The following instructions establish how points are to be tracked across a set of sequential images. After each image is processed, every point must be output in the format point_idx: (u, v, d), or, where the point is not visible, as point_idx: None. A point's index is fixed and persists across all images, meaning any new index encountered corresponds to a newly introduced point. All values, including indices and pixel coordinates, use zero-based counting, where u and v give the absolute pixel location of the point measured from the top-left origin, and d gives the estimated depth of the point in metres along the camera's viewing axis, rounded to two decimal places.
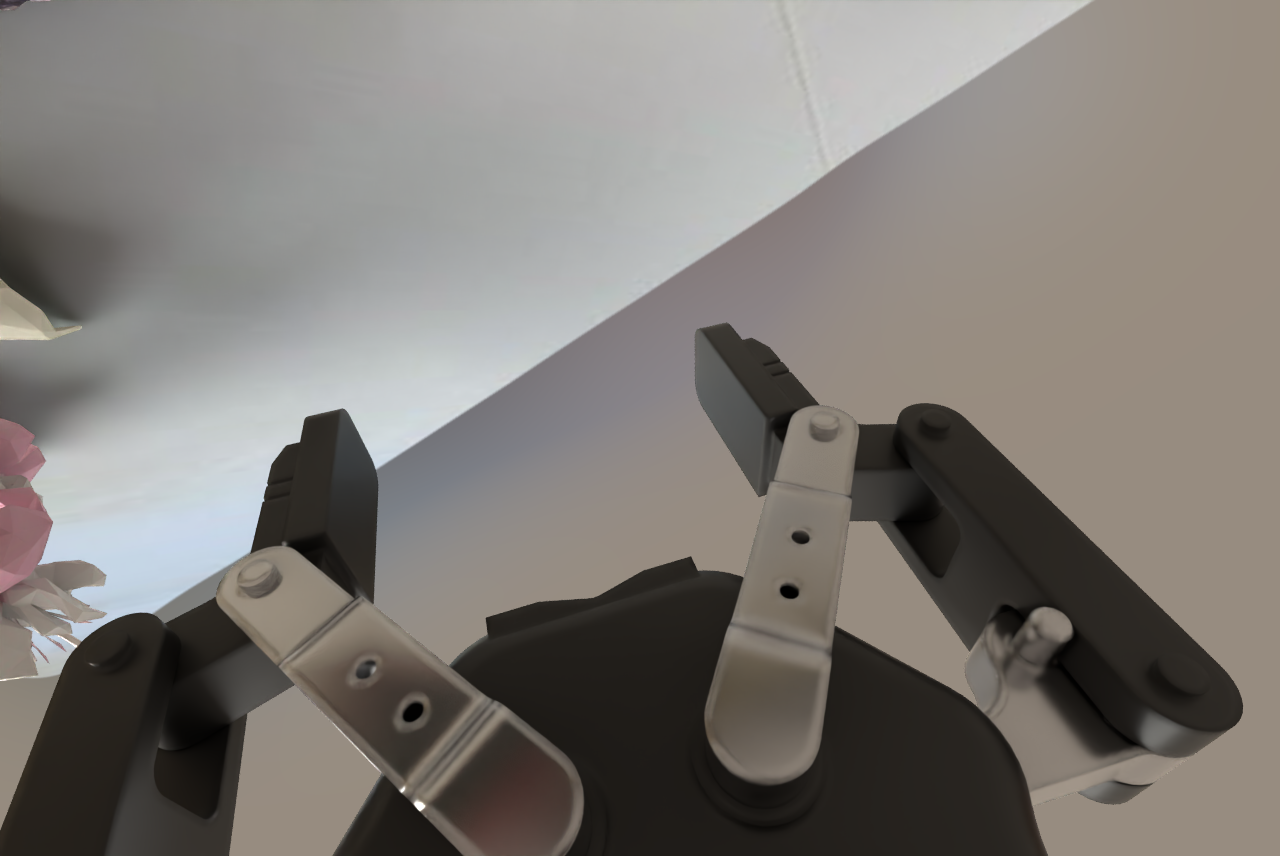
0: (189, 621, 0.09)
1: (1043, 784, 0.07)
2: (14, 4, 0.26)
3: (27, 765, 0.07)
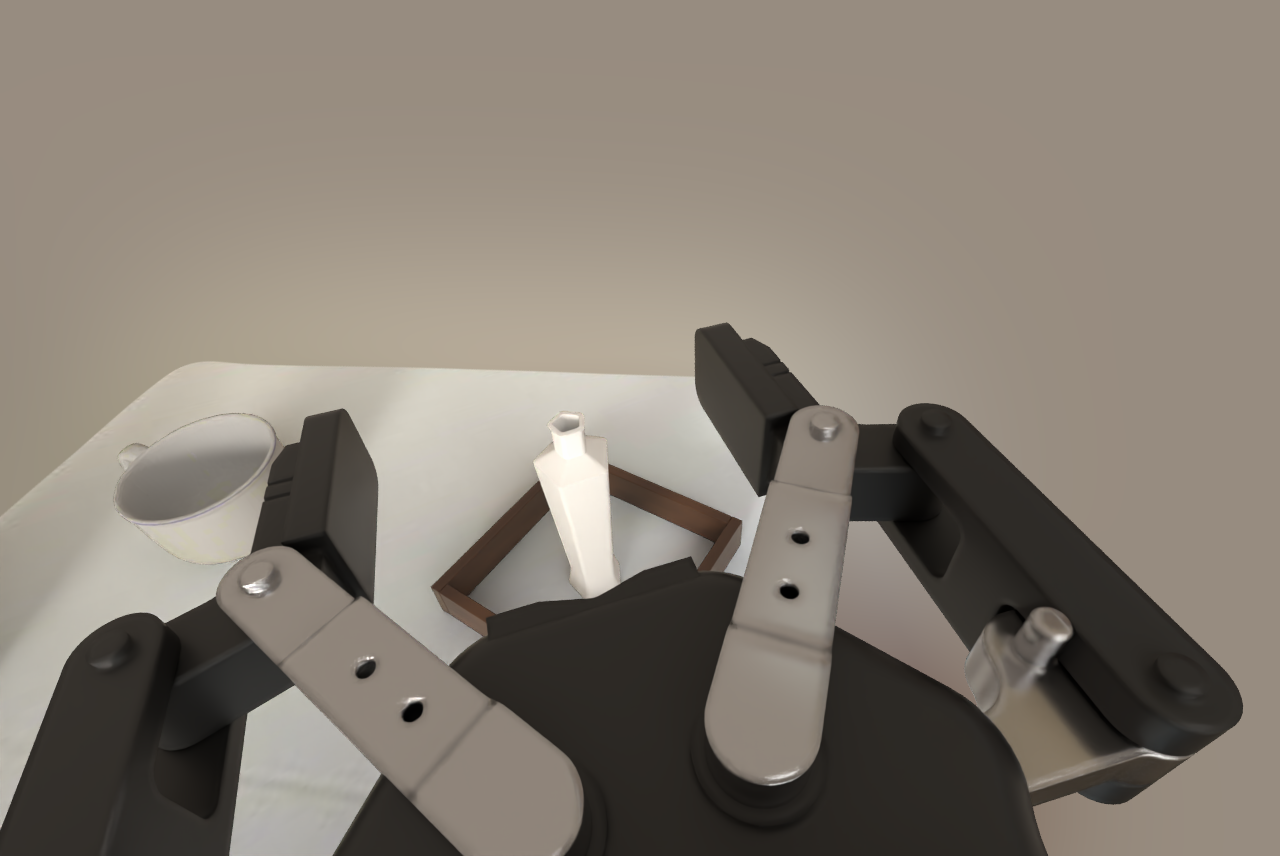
0: (189, 620, 0.09)
1: (1043, 784, 0.07)
2: None
3: (27, 765, 0.07)
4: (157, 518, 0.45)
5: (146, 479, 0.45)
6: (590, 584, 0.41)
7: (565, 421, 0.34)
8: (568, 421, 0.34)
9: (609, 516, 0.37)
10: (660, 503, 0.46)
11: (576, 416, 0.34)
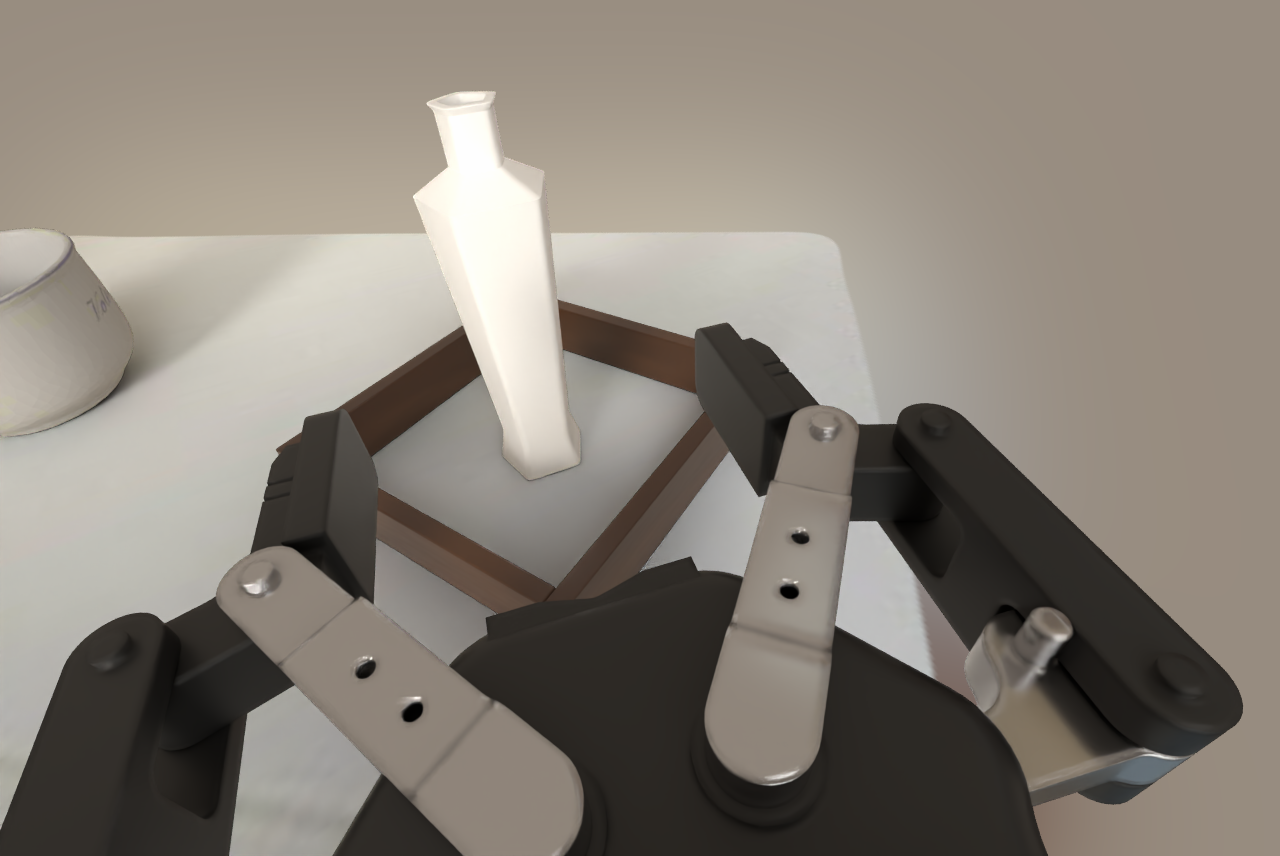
0: (189, 620, 0.09)
1: (1043, 784, 0.07)
2: None
3: (27, 765, 0.07)
4: None
5: None
6: (530, 448, 0.26)
7: None
8: None
9: (551, 309, 0.22)
10: (643, 350, 0.31)
11: (482, 95, 0.19)
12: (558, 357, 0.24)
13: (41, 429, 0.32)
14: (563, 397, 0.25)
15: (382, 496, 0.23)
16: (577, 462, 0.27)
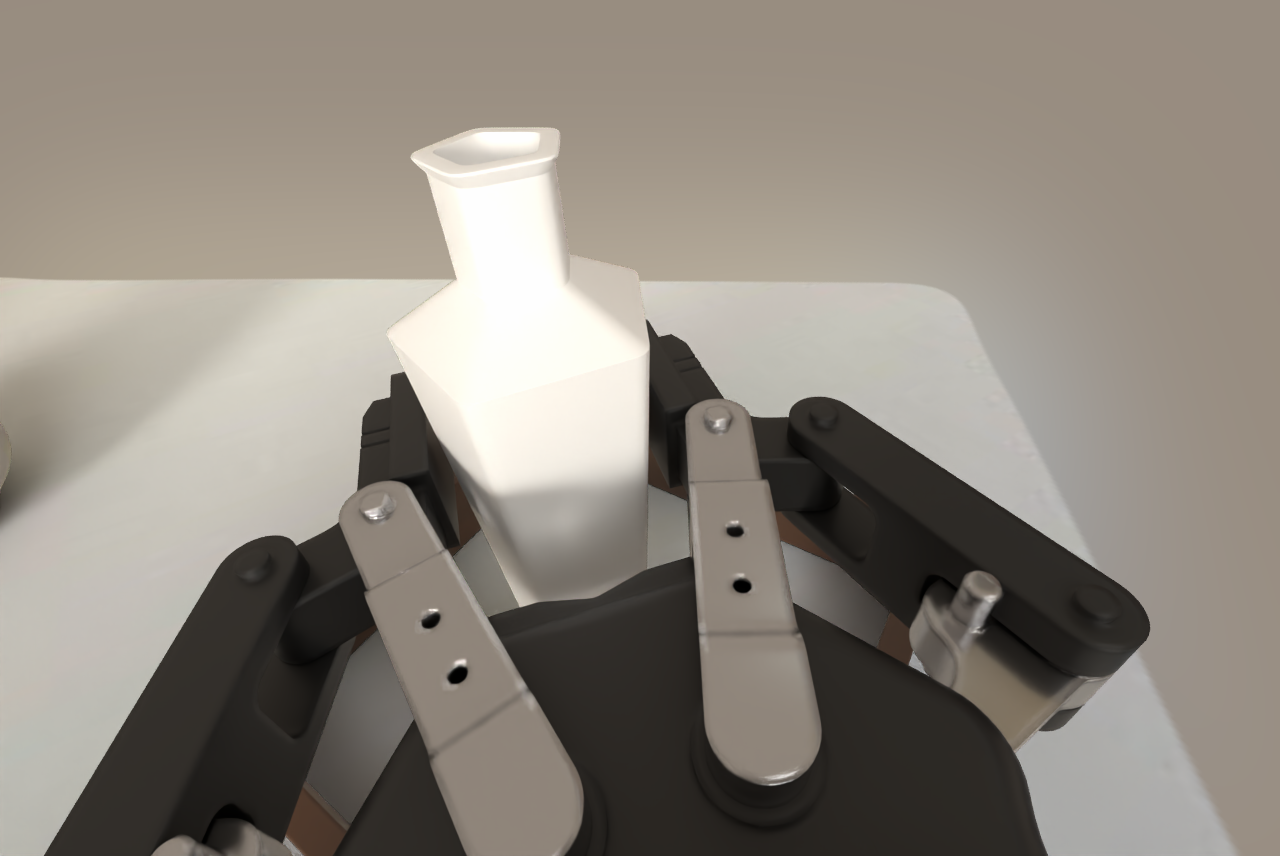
0: (311, 547, 0.10)
1: (1021, 742, 0.07)
2: None
3: (169, 650, 0.08)
4: None
5: None
6: None
7: None
8: None
9: (644, 519, 0.12)
10: None
11: (531, 137, 0.09)
12: None
13: None
14: None
15: (336, 842, 0.13)
16: None
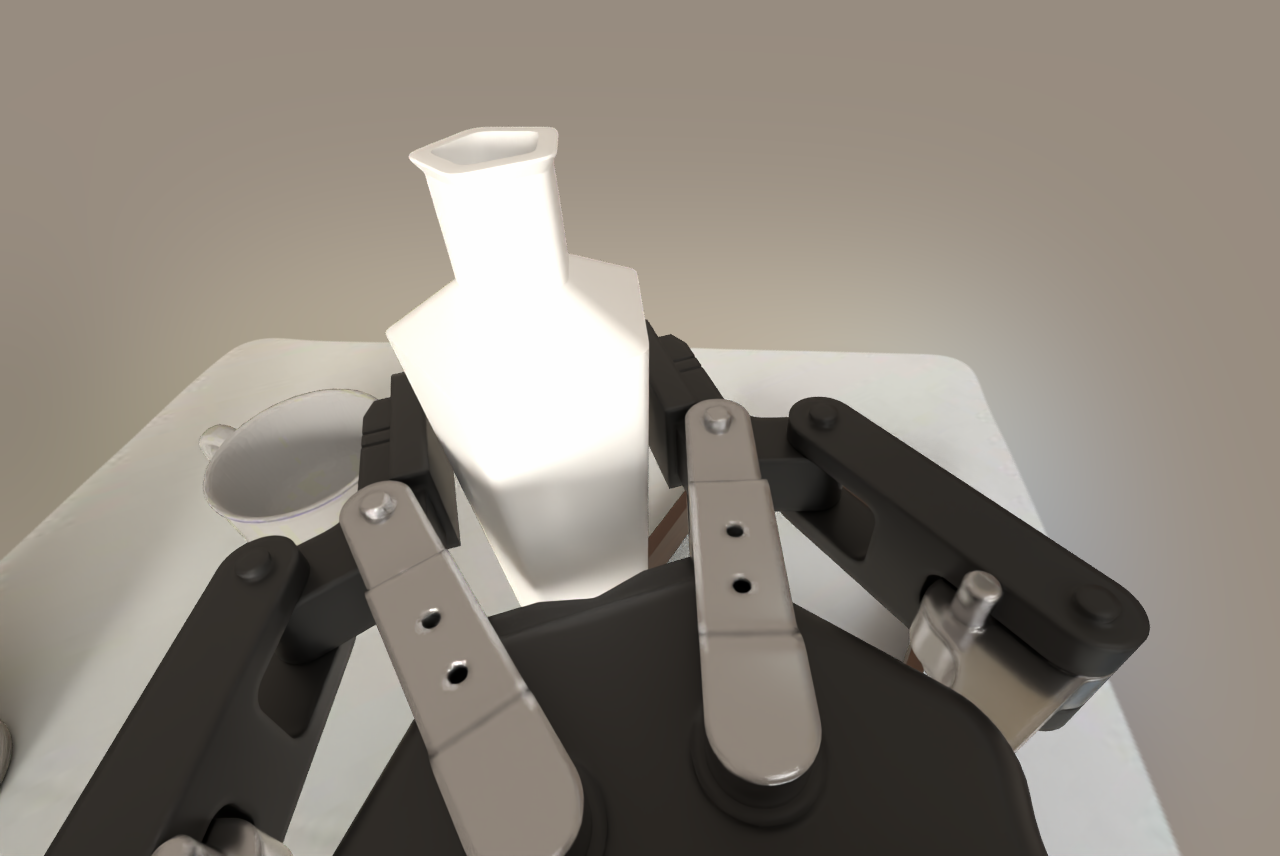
0: (312, 547, 0.10)
1: (1020, 742, 0.07)
2: None
3: (170, 649, 0.08)
4: (248, 514, 0.38)
5: (235, 468, 0.37)
6: None
7: None
8: None
9: (644, 519, 0.12)
10: None
11: (529, 136, 0.09)
12: None
13: None
14: None
15: None
16: None
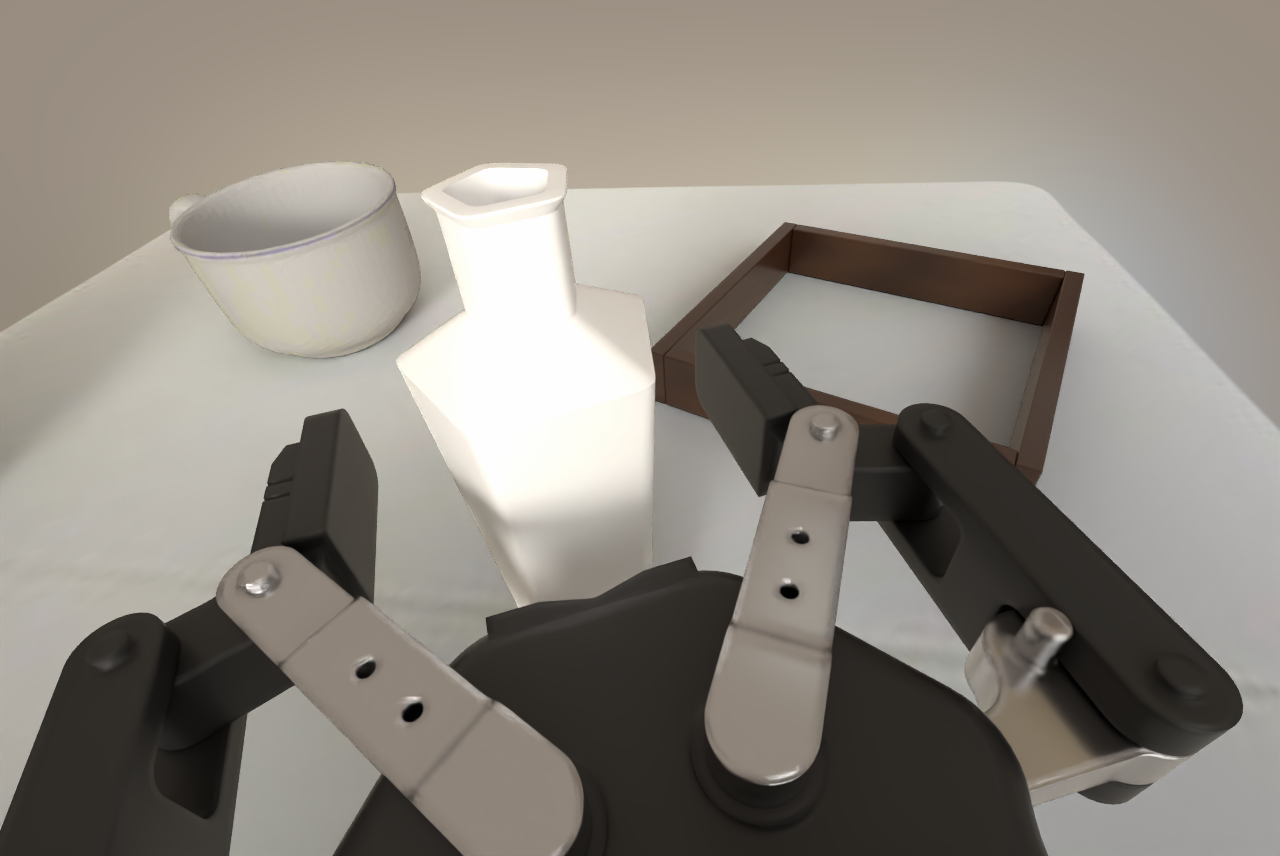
0: (189, 621, 0.09)
1: (1043, 784, 0.07)
2: None
3: (27, 765, 0.07)
4: None
5: (210, 235, 0.32)
6: None
7: None
8: None
9: (649, 541, 0.12)
10: (936, 273, 0.32)
11: (538, 173, 0.09)
12: None
13: (353, 351, 0.33)
14: None
15: None
16: None
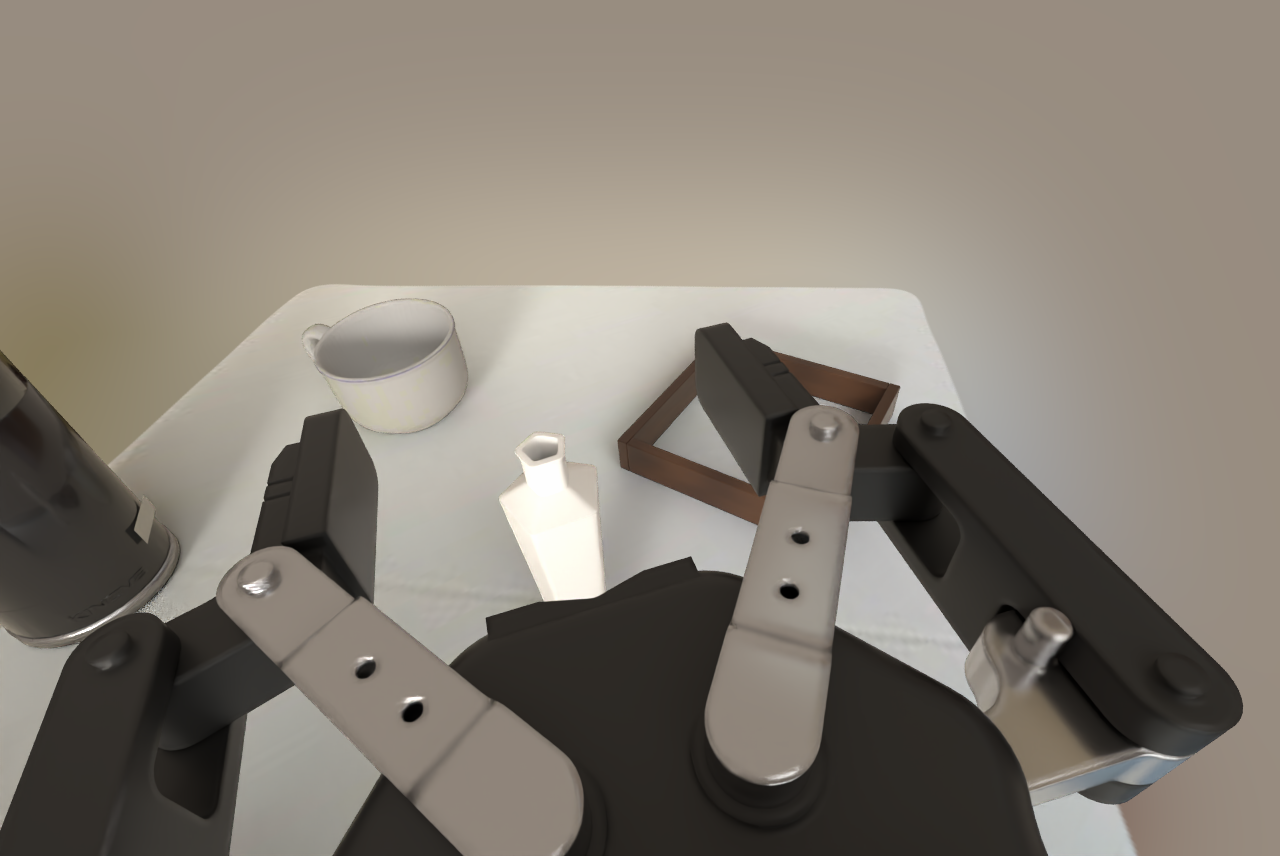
0: (189, 621, 0.09)
1: (1043, 784, 0.07)
2: None
3: (27, 765, 0.07)
4: None
5: (332, 354, 0.48)
6: None
7: (540, 445, 0.26)
8: (544, 445, 0.26)
9: (600, 567, 0.28)
10: (813, 378, 0.49)
11: (555, 439, 0.25)
12: (603, 591, 0.30)
13: (424, 428, 0.50)
14: None
15: (698, 466, 0.41)
16: None
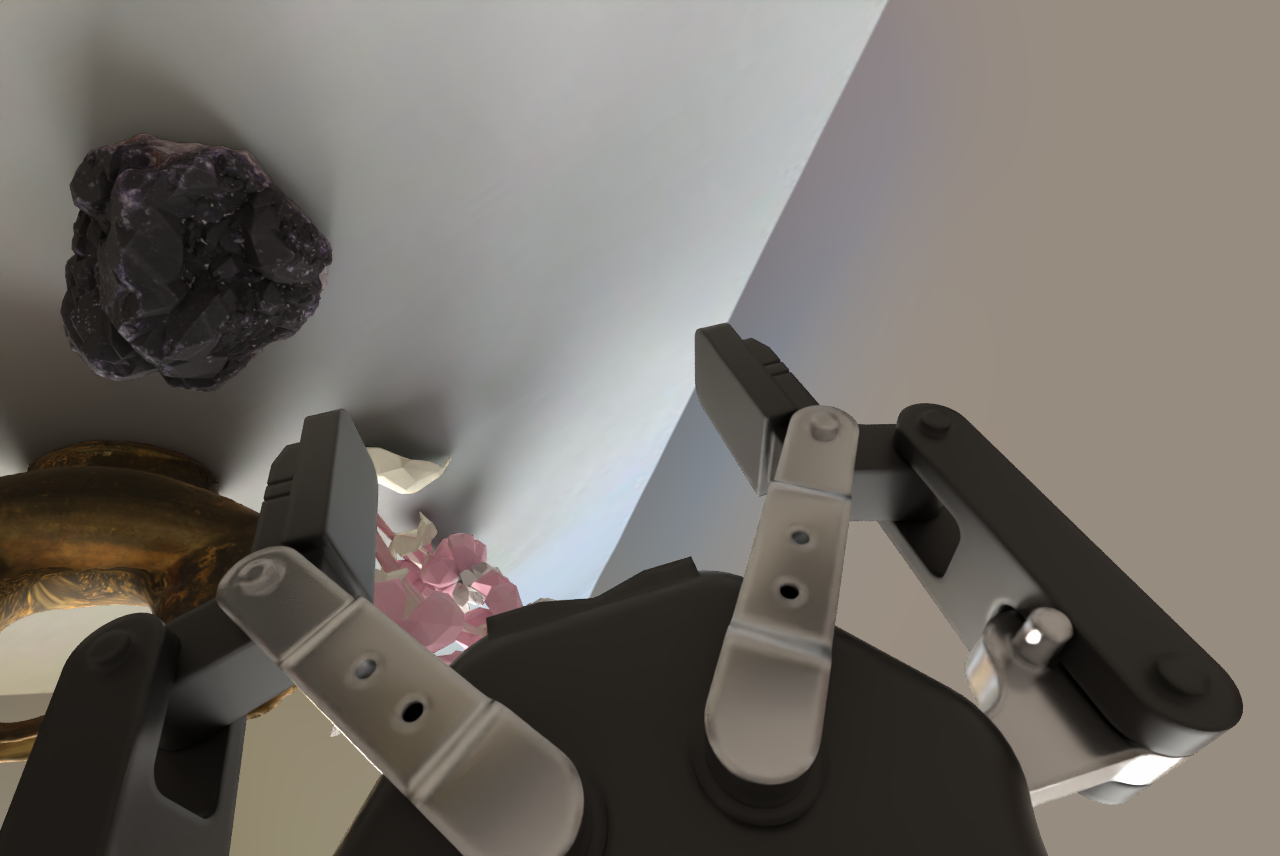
0: (189, 621, 0.09)
1: (1043, 784, 0.07)
2: (316, 306, 0.38)
3: (27, 765, 0.07)
4: None
5: None
6: None
7: None
8: None
9: None
10: None
11: None
12: None
13: None
14: None
15: None
16: None
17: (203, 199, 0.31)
